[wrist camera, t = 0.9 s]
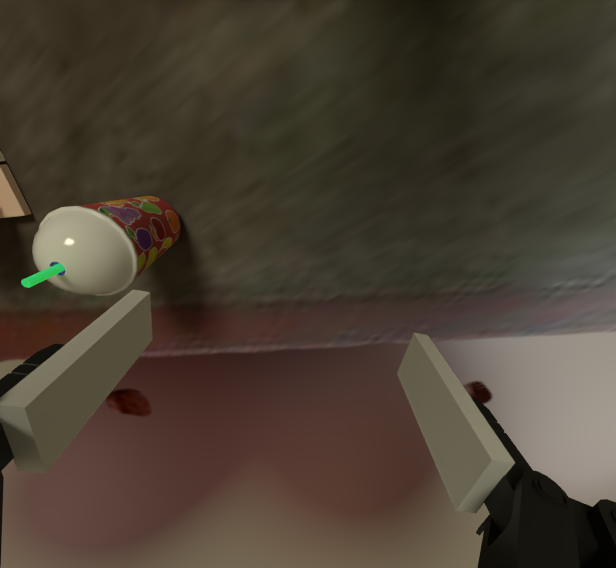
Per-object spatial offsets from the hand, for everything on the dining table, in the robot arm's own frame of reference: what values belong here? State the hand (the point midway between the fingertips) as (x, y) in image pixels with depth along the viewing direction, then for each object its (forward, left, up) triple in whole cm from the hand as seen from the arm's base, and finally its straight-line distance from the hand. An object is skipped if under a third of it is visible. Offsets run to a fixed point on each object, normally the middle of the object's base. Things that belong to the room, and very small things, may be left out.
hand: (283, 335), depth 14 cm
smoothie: (-2, -18, -27) cm, 32 cm away
